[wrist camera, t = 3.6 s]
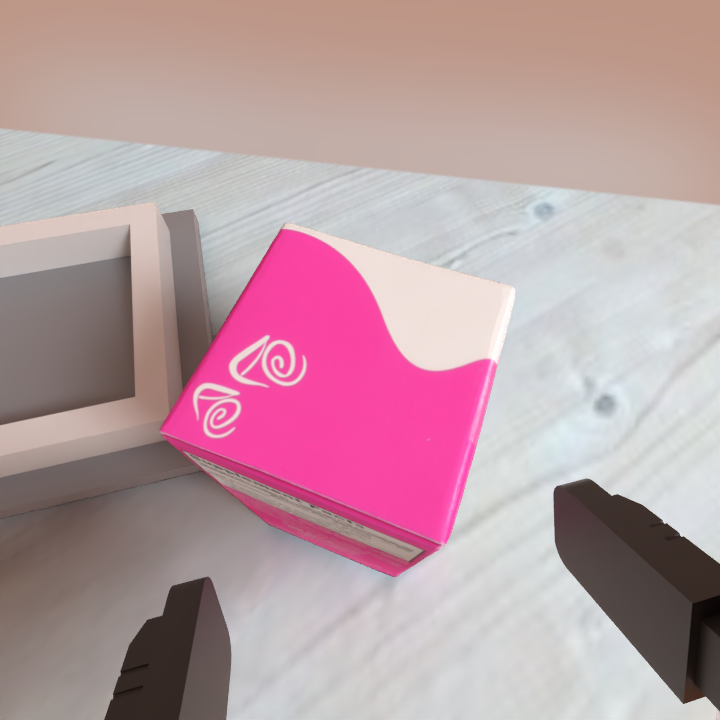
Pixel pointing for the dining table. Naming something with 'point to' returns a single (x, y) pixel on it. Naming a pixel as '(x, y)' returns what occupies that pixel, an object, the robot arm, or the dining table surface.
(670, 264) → the dining table surface
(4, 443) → the socket
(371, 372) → the supplement box
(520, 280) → the dining table surface
